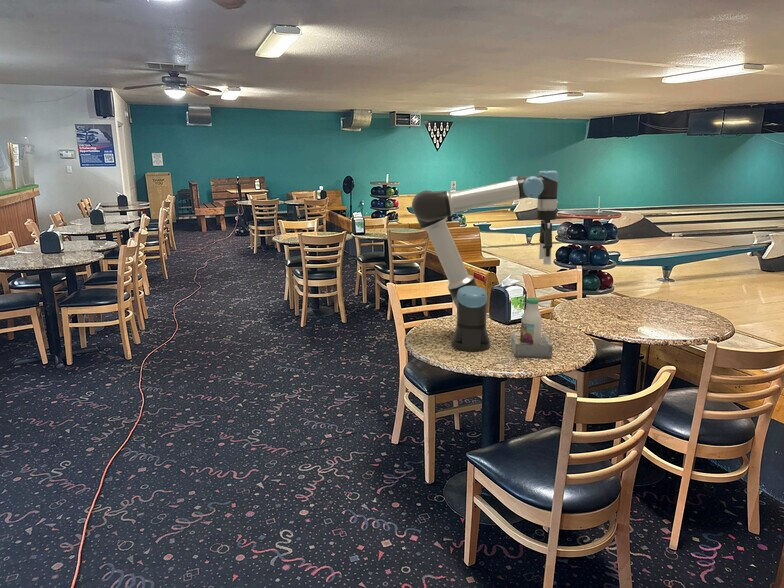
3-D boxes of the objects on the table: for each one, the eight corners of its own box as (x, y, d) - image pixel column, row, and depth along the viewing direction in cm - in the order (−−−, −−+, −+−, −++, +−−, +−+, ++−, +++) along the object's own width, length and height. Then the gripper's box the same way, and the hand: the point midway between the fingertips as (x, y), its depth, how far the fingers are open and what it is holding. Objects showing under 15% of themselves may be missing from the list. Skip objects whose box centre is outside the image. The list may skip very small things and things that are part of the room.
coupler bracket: (515, 357, 198) (516, 344, 197) (510, 343, 213) (511, 332, 212) (551, 358, 196) (552, 345, 195) (544, 344, 212) (545, 332, 211)
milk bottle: (532, 343, 211) (535, 295, 206) (544, 349, 204) (547, 300, 199) (516, 346, 209) (518, 297, 204) (527, 352, 201) (529, 301, 197)
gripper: (561, 211, 199) (558, 266, 204) (552, 207, 223) (549, 256, 228) (541, 212, 200) (539, 266, 205) (533, 207, 224) (532, 256, 229)
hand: (544, 261), depth 217 cm, fingers open, 13 cm apart
